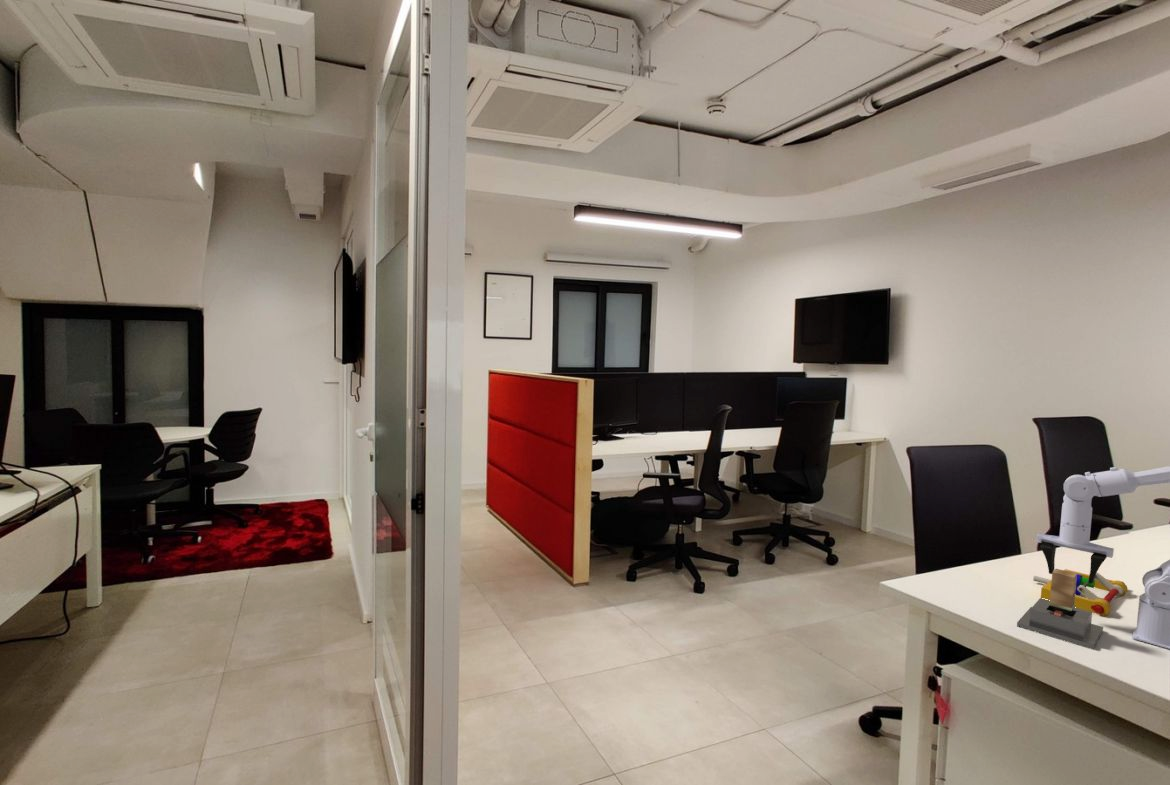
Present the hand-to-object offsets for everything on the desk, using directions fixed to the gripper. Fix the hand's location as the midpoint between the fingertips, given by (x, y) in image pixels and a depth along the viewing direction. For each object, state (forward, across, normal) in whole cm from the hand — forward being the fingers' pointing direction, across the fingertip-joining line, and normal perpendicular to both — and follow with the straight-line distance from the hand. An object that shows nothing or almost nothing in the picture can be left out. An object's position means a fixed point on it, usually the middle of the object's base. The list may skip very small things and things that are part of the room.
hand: (1070, 577), depth 145 cm
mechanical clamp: (+11, +2, -24) cm, 27 cm away
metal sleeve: (+10, 0, +9) cm, 14 cm away
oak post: (+5, 0, +9) cm, 10 cm away
